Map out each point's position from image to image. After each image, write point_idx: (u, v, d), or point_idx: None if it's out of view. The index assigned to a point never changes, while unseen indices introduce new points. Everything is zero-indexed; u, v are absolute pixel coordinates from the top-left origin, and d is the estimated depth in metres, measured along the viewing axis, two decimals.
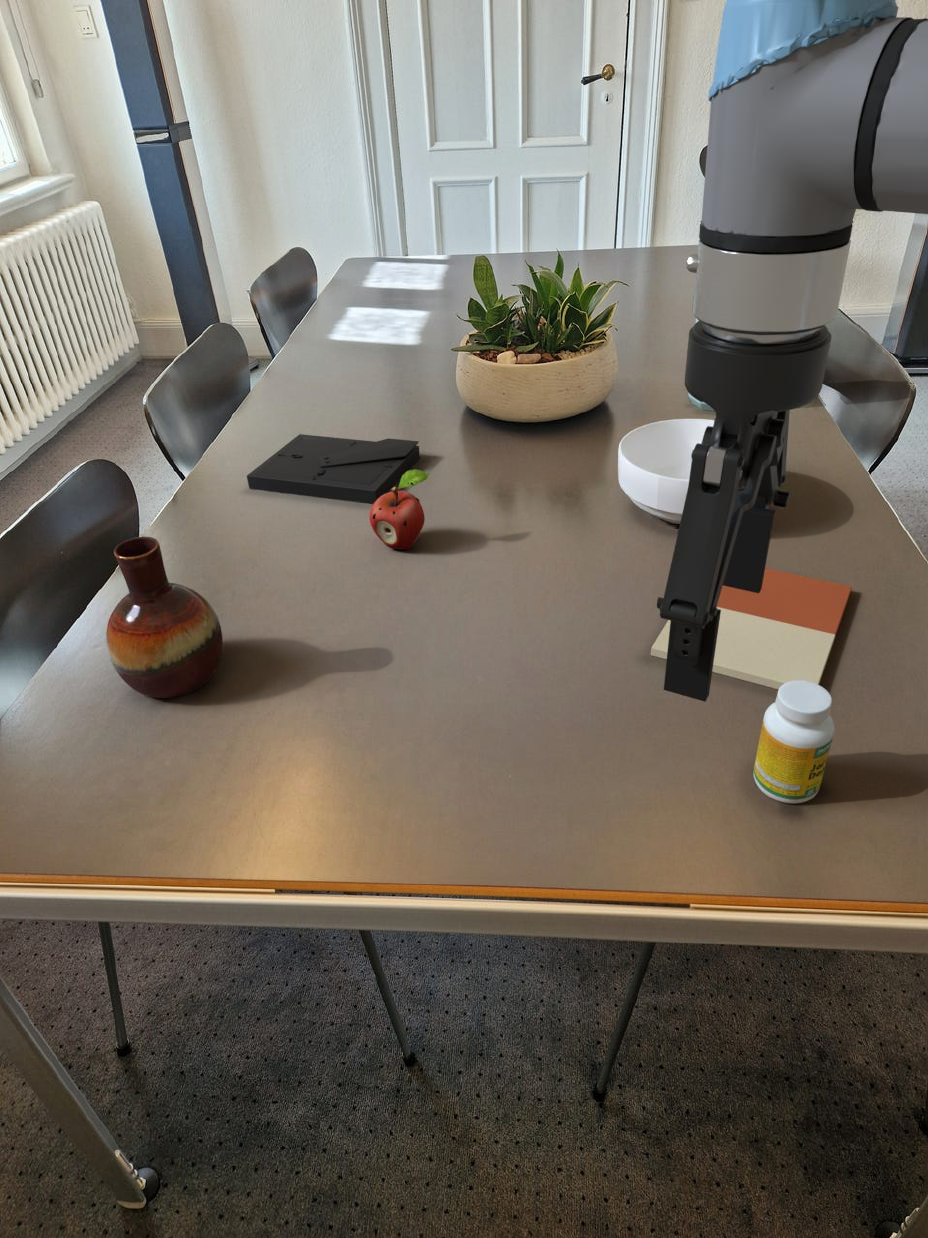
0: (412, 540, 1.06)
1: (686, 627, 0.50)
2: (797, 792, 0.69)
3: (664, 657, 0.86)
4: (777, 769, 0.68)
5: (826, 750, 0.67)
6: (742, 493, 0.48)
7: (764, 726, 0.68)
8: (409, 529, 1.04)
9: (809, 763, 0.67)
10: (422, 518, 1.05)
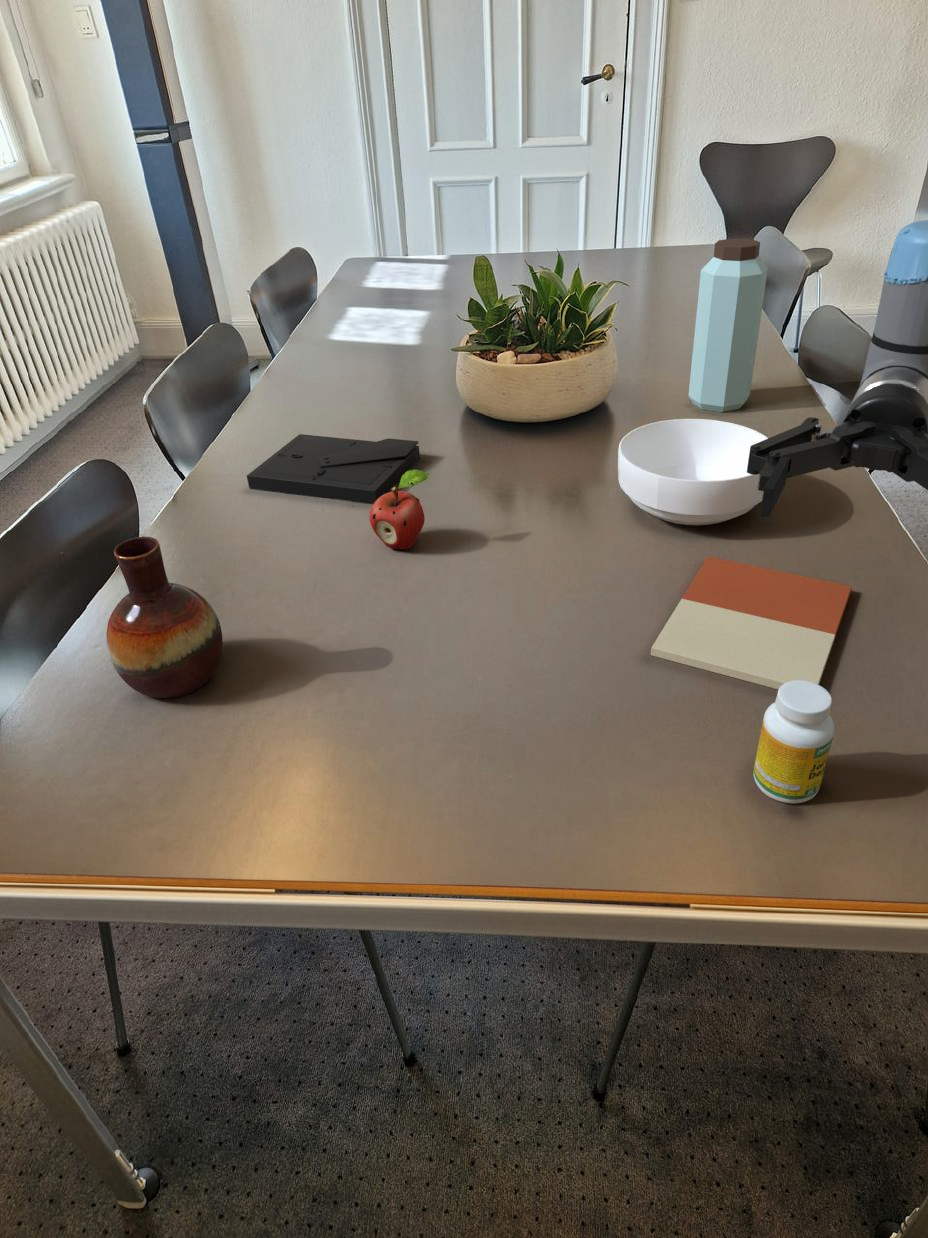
0: (412, 540, 1.06)
1: None
2: (797, 792, 0.69)
3: (664, 657, 0.86)
4: (777, 769, 0.68)
5: (826, 750, 0.67)
6: None
7: (764, 726, 0.68)
8: (409, 529, 1.04)
9: (809, 763, 0.67)
10: (422, 518, 1.05)
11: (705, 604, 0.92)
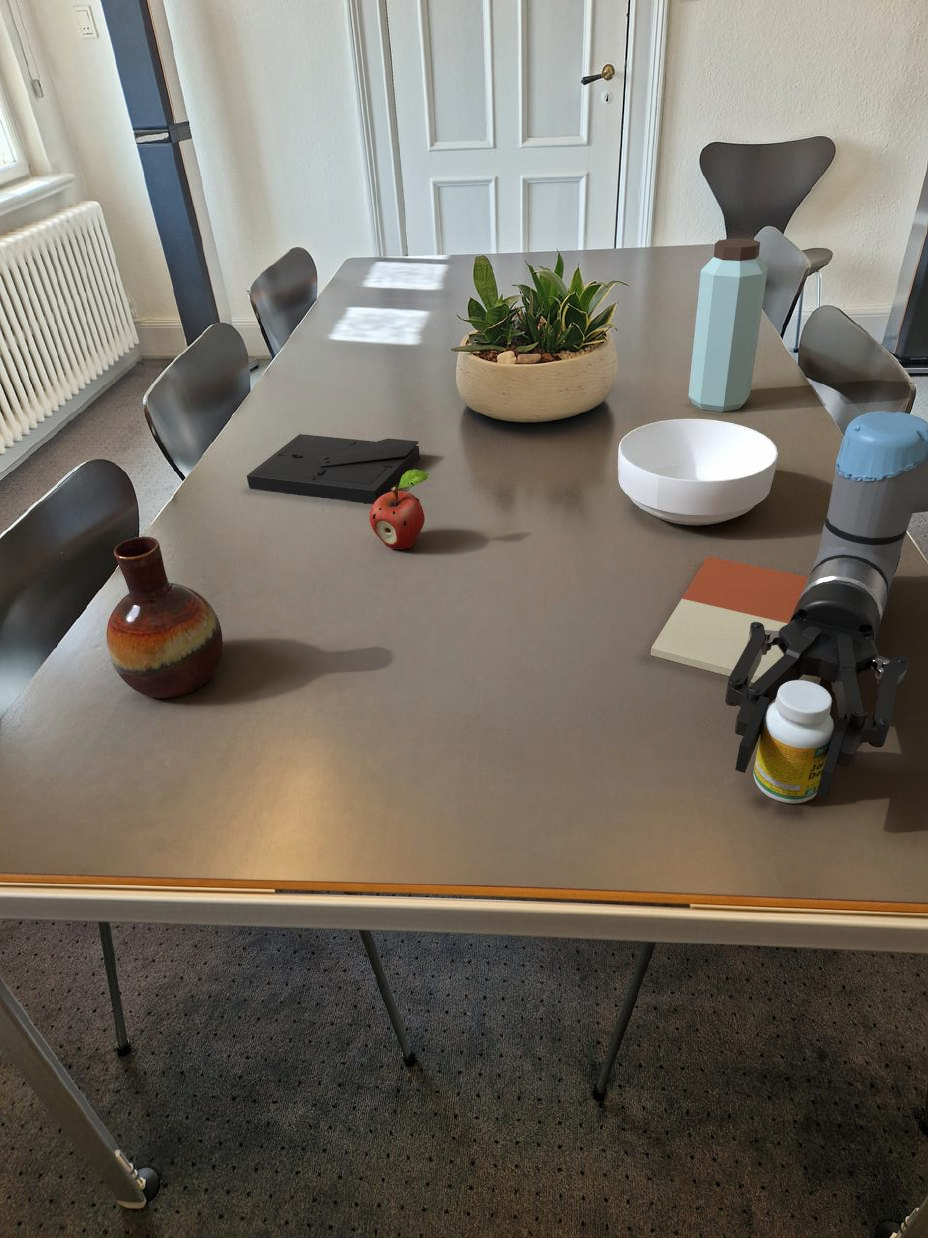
0: (412, 540, 1.06)
1: None
2: (797, 792, 0.69)
3: (664, 657, 0.86)
4: (777, 769, 0.68)
5: (826, 750, 0.67)
6: None
7: (764, 726, 0.68)
8: (409, 529, 1.04)
9: (809, 763, 0.67)
10: (422, 518, 1.05)
11: (705, 604, 0.92)
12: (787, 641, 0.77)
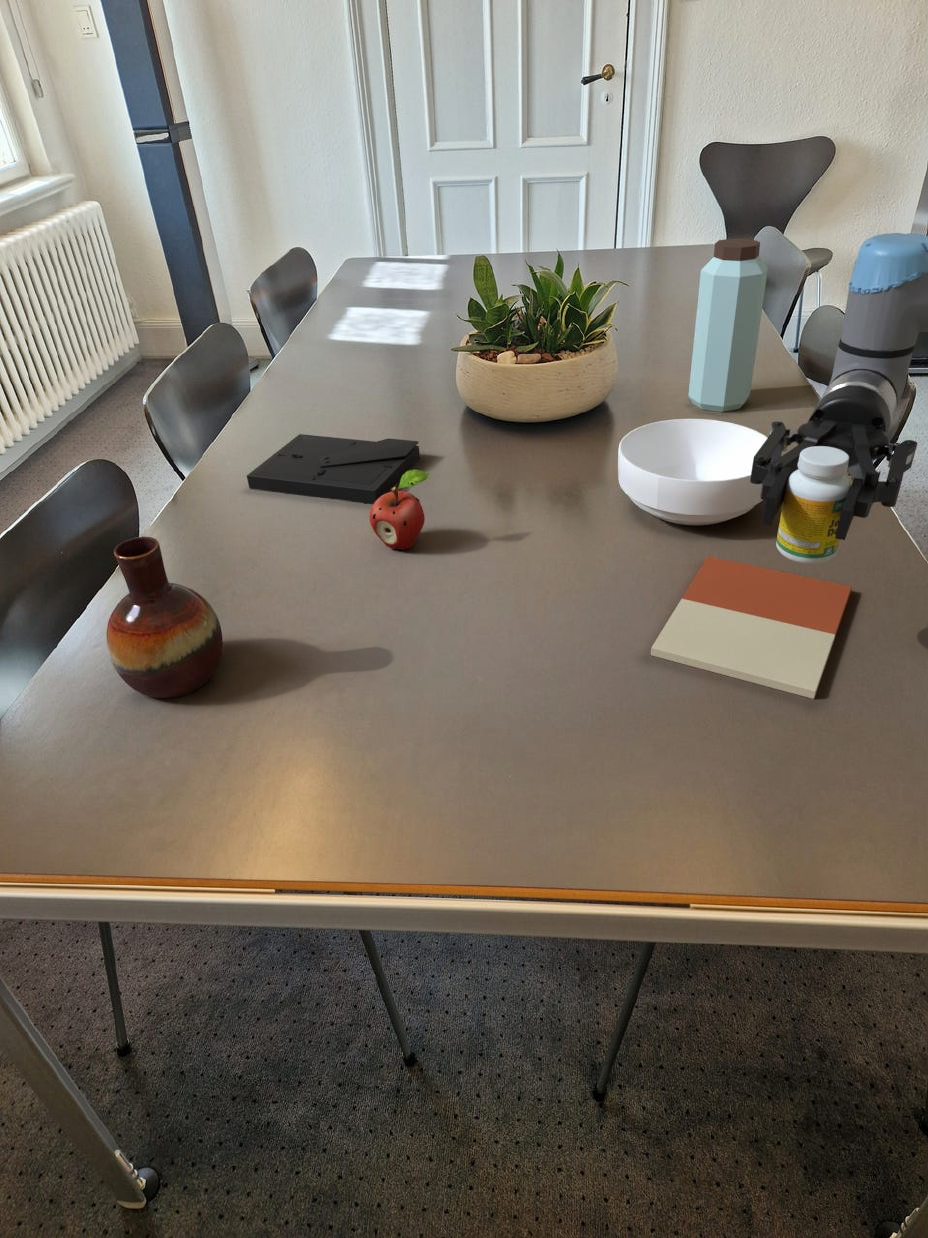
0: (412, 540, 1.06)
1: None
2: (817, 550, 0.76)
3: (664, 657, 0.86)
4: (799, 527, 0.75)
5: None
6: None
7: (787, 489, 0.75)
8: (409, 529, 1.04)
9: (828, 517, 0.74)
10: (422, 518, 1.05)
11: (705, 604, 0.92)
12: (806, 434, 0.84)
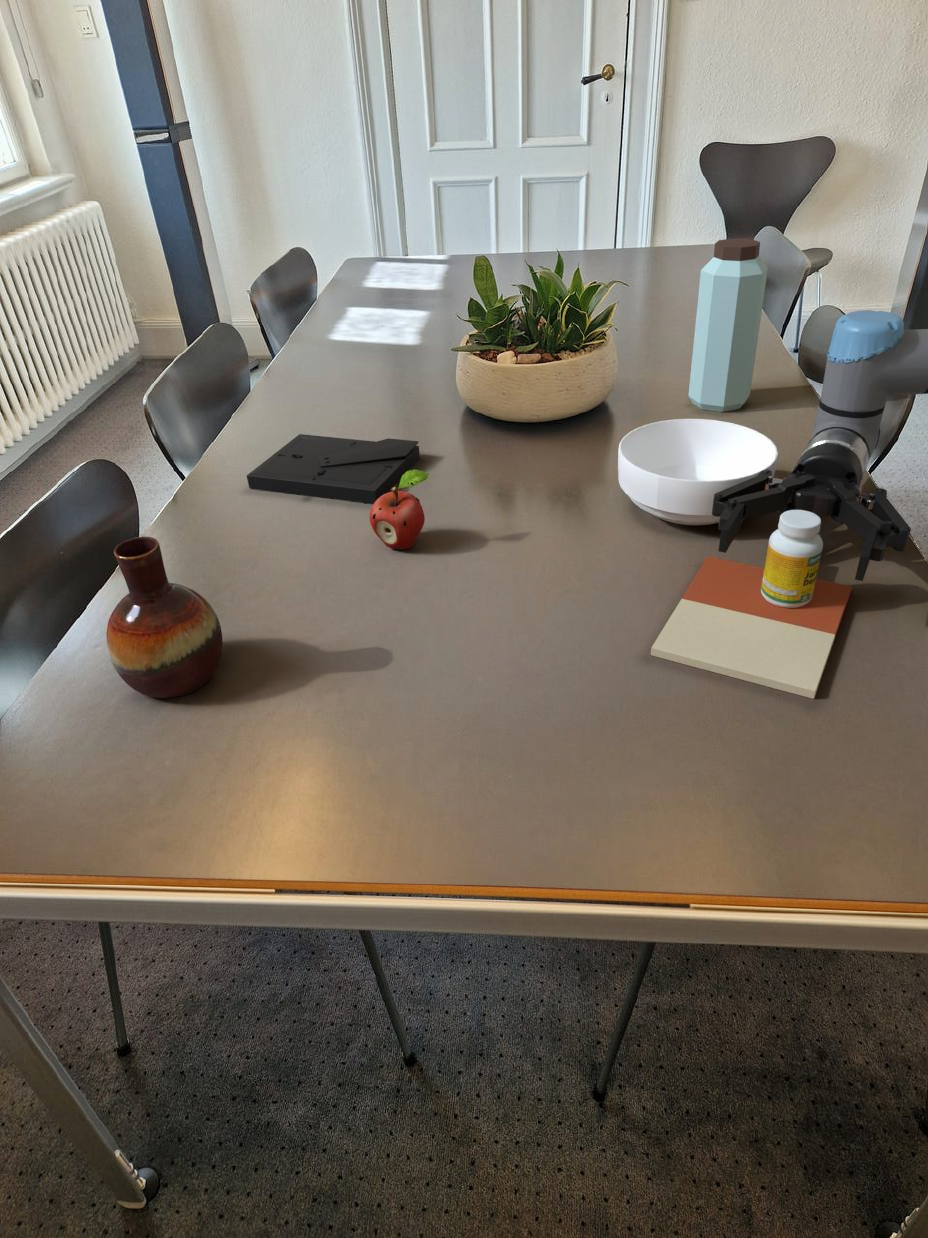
0: (412, 540, 1.06)
1: None
2: (794, 597, 0.90)
3: (664, 657, 0.86)
4: (779, 578, 0.89)
5: (816, 561, 0.88)
6: None
7: (769, 545, 0.89)
8: (409, 529, 1.04)
9: (803, 570, 0.88)
10: (422, 518, 1.05)
11: (705, 604, 0.92)
12: None
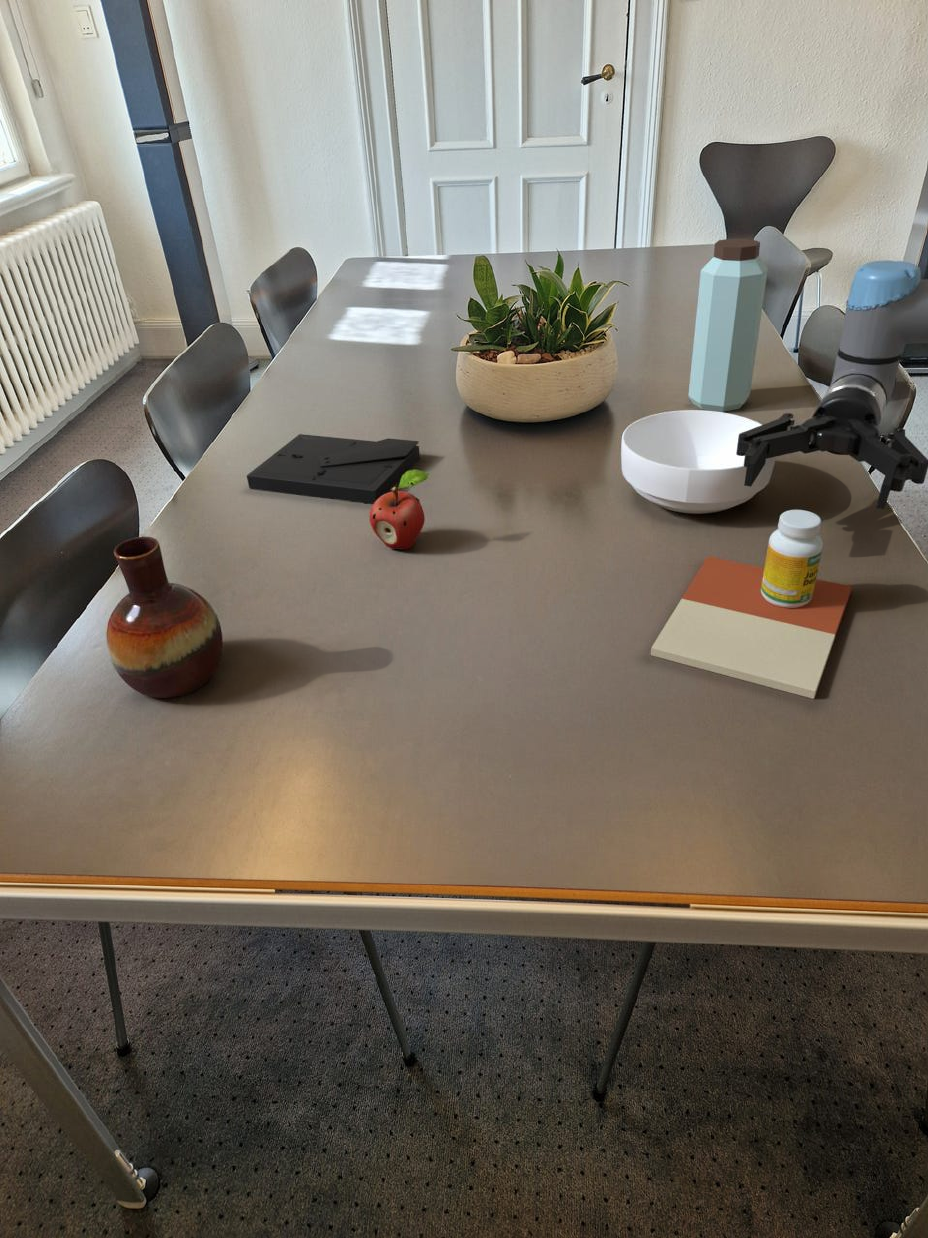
0: (412, 540, 1.06)
1: None
2: (794, 597, 0.90)
3: (664, 657, 0.86)
4: (779, 578, 0.89)
5: (816, 561, 0.88)
6: None
7: (769, 545, 0.89)
8: (409, 529, 1.04)
9: (803, 570, 0.88)
10: (422, 518, 1.05)
11: (705, 604, 0.92)
12: None
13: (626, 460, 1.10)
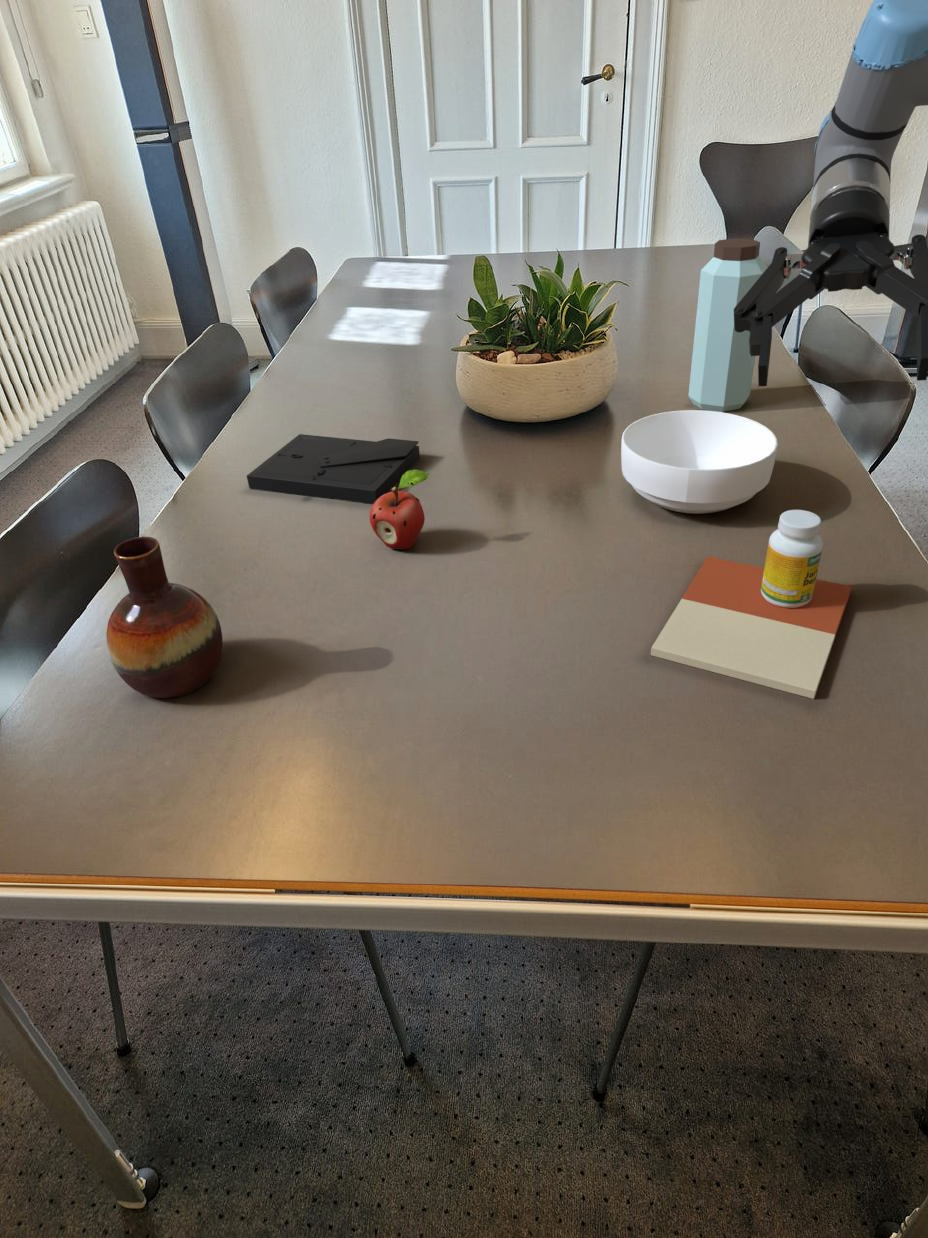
0: (412, 540, 1.06)
1: None
2: (794, 597, 0.90)
3: (664, 657, 0.86)
4: (779, 578, 0.89)
5: (816, 561, 0.88)
6: None
7: (769, 545, 0.89)
8: (409, 529, 1.04)
9: (803, 570, 0.88)
10: (422, 518, 1.05)
11: (705, 604, 0.92)
12: None
13: (626, 460, 1.10)
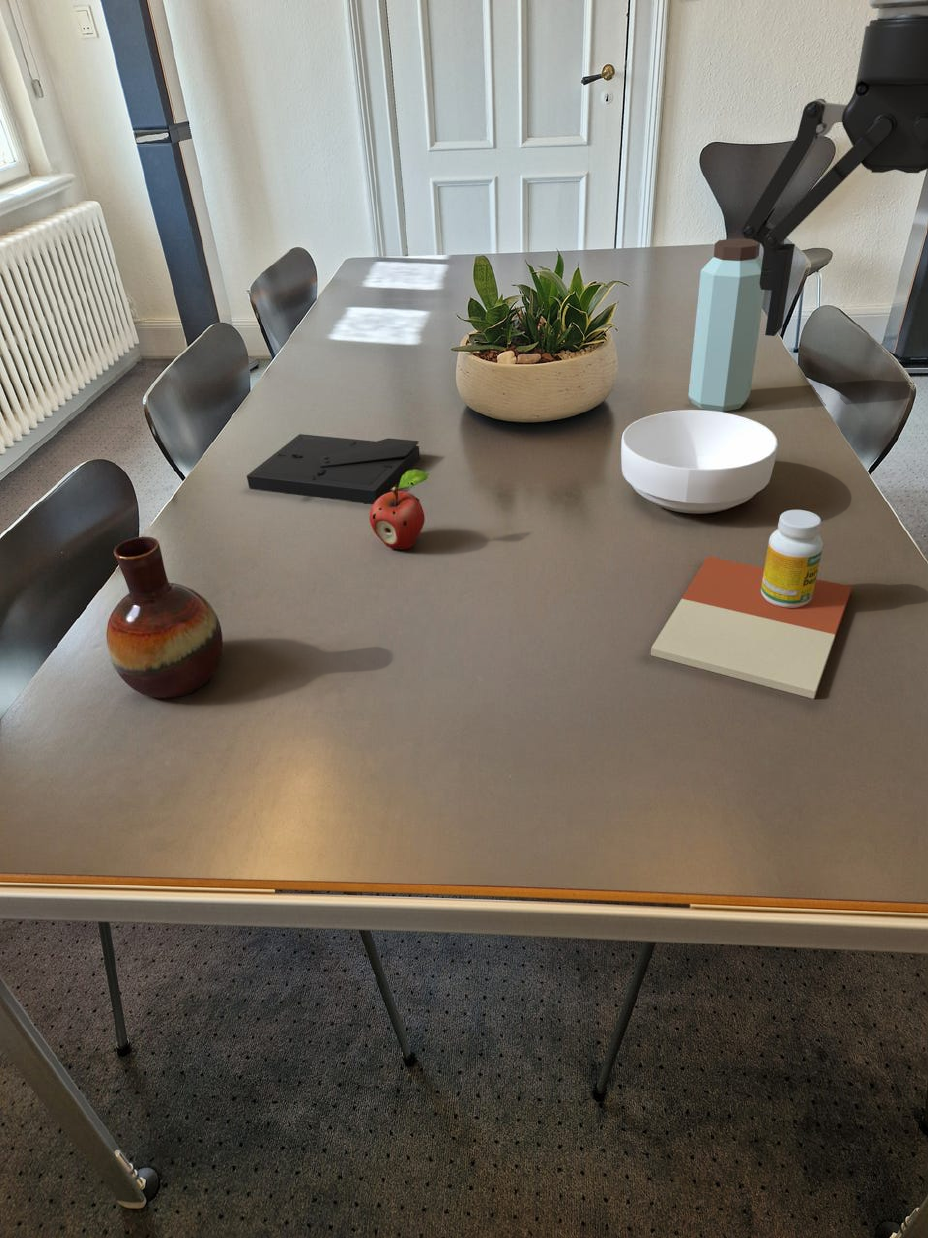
0: (412, 540, 1.06)
1: None
2: (794, 597, 0.90)
3: (664, 657, 0.86)
4: (779, 578, 0.89)
5: (816, 561, 0.88)
6: None
7: (769, 545, 0.89)
8: (409, 529, 1.04)
9: (803, 570, 0.88)
10: (422, 518, 1.05)
11: (705, 604, 0.92)
12: (852, 143, 0.61)
13: (626, 460, 1.10)
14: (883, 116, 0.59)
